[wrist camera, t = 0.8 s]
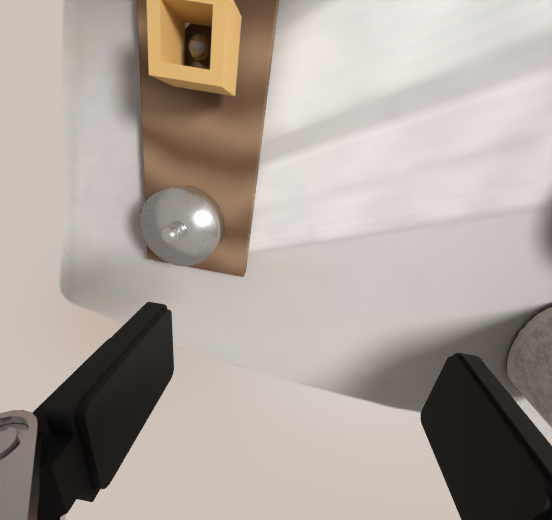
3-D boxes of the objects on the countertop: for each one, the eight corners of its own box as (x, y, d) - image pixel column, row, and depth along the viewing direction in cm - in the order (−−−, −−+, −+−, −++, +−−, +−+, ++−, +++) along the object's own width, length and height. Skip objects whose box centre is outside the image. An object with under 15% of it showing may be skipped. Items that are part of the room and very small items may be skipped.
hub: (152, 179, 31) (121, 185, 26) (227, 192, 31) (211, 201, 26) (154, 249, 35) (127, 268, 30) (221, 262, 35) (206, 283, 29)
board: (144, -24, 26) (135, -34, 24) (279, -4, 25) (277, -12, 24) (153, 254, 37) (147, 258, 36) (245, 272, 37) (243, 276, 35)
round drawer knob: (188, 24, 25) (167, 1, 21) (240, 32, 25) (228, 10, 21) (187, 85, 27) (167, 75, 23) (235, 93, 27) (223, 84, 23)
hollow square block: (174, 6, 23) (145, -24, 19) (241, 16, 23) (227, -12, 19) (174, 86, 26) (148, 74, 22) (235, 96, 26) (221, 86, 21)
